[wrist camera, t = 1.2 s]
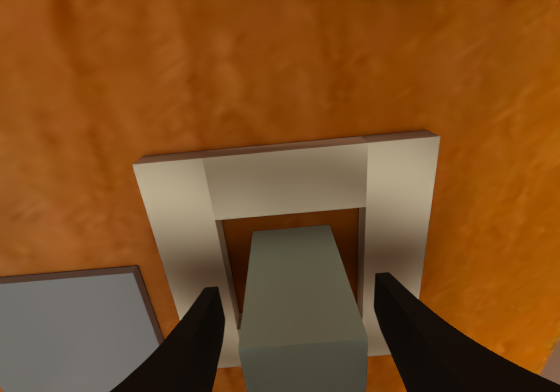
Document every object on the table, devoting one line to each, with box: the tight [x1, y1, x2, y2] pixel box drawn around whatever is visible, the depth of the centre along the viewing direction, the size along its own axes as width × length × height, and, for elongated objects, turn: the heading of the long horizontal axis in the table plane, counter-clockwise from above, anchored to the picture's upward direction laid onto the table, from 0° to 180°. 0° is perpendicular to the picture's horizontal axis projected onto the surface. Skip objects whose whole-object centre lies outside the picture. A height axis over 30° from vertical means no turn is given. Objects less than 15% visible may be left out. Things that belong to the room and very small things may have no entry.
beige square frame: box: [132, 130, 440, 368], centre depth 16 cm, size 13×13×1 cm
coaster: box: [0, 266, 164, 392], centre depth 18 cm, size 11×11×1 cm
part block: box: [238, 225, 368, 392], centre depth 13 cm, size 4×4×7 cm
